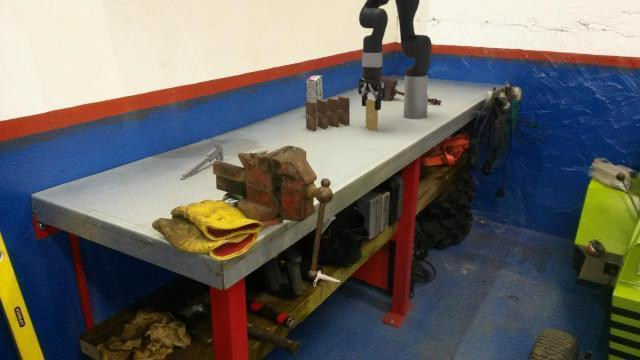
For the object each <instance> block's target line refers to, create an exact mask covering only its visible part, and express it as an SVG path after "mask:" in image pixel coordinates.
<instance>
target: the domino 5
mask: <svg viewBox="0 0 640 360" xmlns="http://www.w3.org/2000/svg"><path fill="white" fill-rule="evenodd" d="M378 120H379V110H375V100H373V99H369V98H368V100H366V106H365V129H368V130H370V131H378V127H379V125H378V124H379V121H378Z"/></svg>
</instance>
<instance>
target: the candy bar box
mask: <svg viewBox="0 0 640 360" xmlns="http://www.w3.org/2000/svg"><path fill="white" fill-rule="evenodd" d="M305 86H306V88H305V89H306V101H308V100H310V101H313V102H316V107H317V99H323V100H324V96H323V75H311V76H309V77H308V78H307V79H306V80H305Z"/></svg>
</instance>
